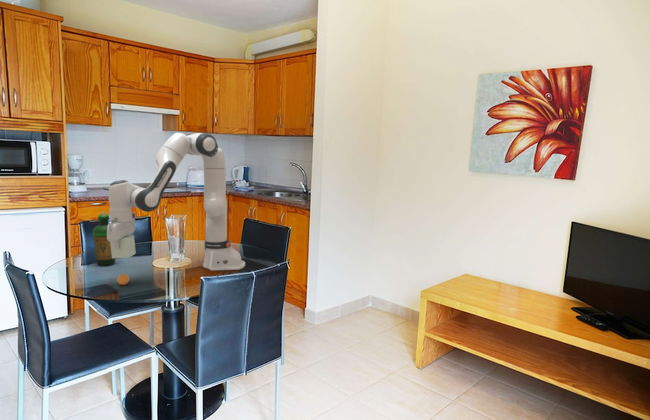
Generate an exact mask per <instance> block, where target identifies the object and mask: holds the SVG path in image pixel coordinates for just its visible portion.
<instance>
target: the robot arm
mask: <svg viewBox="0 0 650 420" xmlns="http://www.w3.org/2000/svg"><path fill="white" fill-rule="evenodd" d="M187 154H189V155H190V156H191V155H192V156H193V155H194V156H201V158H202V160H203V185H204V186H203V208H204V211H205V224H204V225H205V231H204V232H205V239H204V251H205V252H204V259H203V260H204V261H203V264H202V267H203V268H205V269H209V271H233V270H242V269H243V268H245V266H246V262H245V260H242V256H241V253H240V252H238V250H235V249H234V247H232V246H231V244H232V243H231V240H229V239H227V238H228V237H227V236H228V235H227V233H228V231H227V230H228V228H227V226H228V222H227V221H228V200H227V198H226V197H227V189H226V188H227V177H226V176H227V175H226V173H227V172H226V160H225V159H226V158H225V155H224V152H223V150H222V148H221V147H219V145H218V142H217V139H216V138H215V137H214V136H213V135H212V134H210V133H205V132H196V133H189V134H184V133H182V132H175V133H173V134H172V135H171V136H170V137H169V138H168V139H167V140H166V141H165V142H164V143H163V144H162V146H161V147H160V149H158V151H157V153H156V156H155V163H156V164H157V166H158V171H157V174H156V175H155V176H154V178H153V179H152V181H151V183H150V184H149V185H148V186H147V187H141V186H139V185H137V184H133V183H132V182H129V181H128V180H125V179H123V180H122V179H121V180H116V181H113V182H111V183H110V184H109V187H108V202H109V208H108V212H109V214H108V215H109V216H110V223H109V224H108V226H107V240H108V241H111V242H113V244H114V246H115V249H116V250H118V249H120V245H119V239H121V238H123V237H125V236H127V235H130V234H131V233H133V234H134V233H135V230H136V219H135V218H136V212H133V211H132V208H136V209H139V210H141V211H143V212H146V213H147V212H149V213H150V212H153V211H155V210H157V208H159V206H160V204H161V201H162V196H163V194H164V192H165V190H166V188H167V186H168V185H169V183H170V182H171V180H172V179H173V177H174V175H175V173H176V170H177V168H178V167H179V165H180V164H181V162H183V160H184V158H185V157H186V155H187Z"/></svg>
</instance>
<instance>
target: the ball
mask: <svg viewBox="0 0 650 420" xmlns="http://www.w3.org/2000/svg"><path fill="white" fill-rule="evenodd" d="M116 282H117V283H118V285H120V286H125V285H128V283H129V282H130V277H129V275H127V274H126V273H123V274H119V275H118V277H117V278H116Z"/></svg>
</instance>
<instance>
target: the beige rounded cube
mask: <svg viewBox="0 0 650 420" xmlns="http://www.w3.org/2000/svg"><path fill="white" fill-rule="evenodd" d="M110 244H111V253H112V258H115V259H129V258H131V257H132V256H134V255H135V254H136V253H137V252H136V244H135V235H134V234H133V235H127V236H125V237H123V238H121V239H119V245H120V249H118V250H116V249H115V246H114V244H113V242H111V241H110Z"/></svg>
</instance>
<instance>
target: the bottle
mask: <svg viewBox="0 0 650 420" xmlns="http://www.w3.org/2000/svg"><path fill="white" fill-rule="evenodd" d="M109 219H110V218H109V214H108V212H106V211H101V212H99V214H98V215H97V221H98V223H99V224H98V225H96V226H94V228H93V229H92V235H93V243H94V250H95V251H94V252H95V260H96V265H97V266H100V267H108V266H113V265H114V264H115V263H116V258H112V253H111V244H110V241H108V240H107V226H108V220H109Z"/></svg>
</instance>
